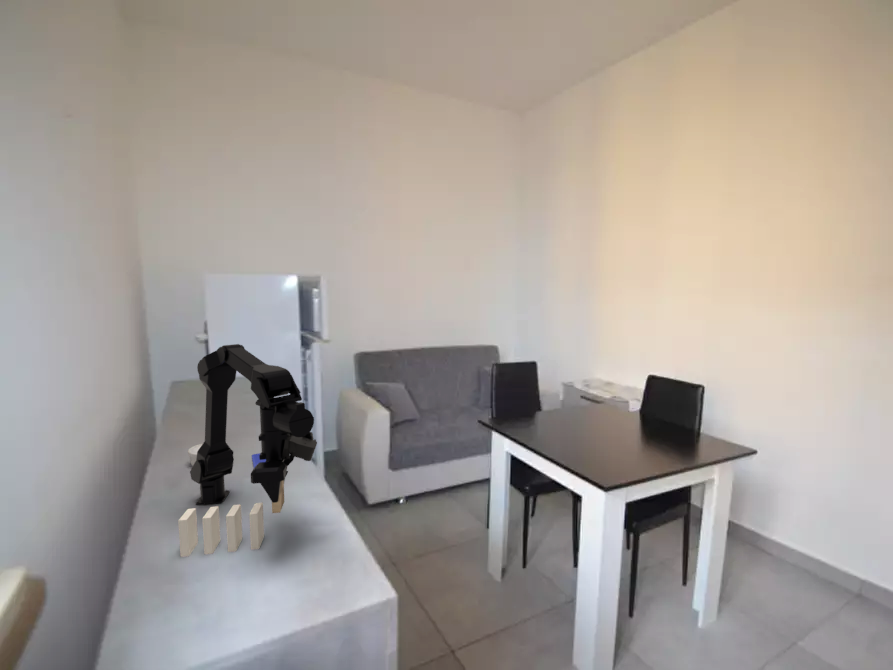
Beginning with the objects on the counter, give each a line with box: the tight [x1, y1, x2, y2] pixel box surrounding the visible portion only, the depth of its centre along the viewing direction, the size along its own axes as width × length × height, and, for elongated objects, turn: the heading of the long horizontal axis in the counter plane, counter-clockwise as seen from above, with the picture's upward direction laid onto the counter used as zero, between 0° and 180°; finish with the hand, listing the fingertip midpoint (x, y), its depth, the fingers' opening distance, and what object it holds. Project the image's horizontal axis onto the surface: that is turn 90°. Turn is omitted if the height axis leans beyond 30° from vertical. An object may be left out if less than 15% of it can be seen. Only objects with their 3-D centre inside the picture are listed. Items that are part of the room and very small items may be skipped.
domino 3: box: [225, 504, 243, 553], centre depth 94 cm, size 5×2×8 cm, turn 10°
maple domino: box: [271, 480, 285, 514], centre depth 95 cm, size 5×2×8 cm, turn 10°
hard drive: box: [251, 452, 266, 469], centre depth 142 cm, size 2×8×12 cm
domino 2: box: [202, 505, 222, 556], centre depth 94 cm, size 5×2×8 cm, turn 10°
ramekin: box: [187, 443, 203, 467], centre depth 140 cm, size 11×11×5 cm
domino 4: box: [248, 502, 265, 551], centre depth 95 cm, size 5×2×8 cm, turn 10°
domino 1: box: [177, 507, 199, 558], centre depth 93 cm, size 5×2×8 cm, turn 10°
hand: (277, 496), depth 96 cm, fingers closed on maple domino, 5 cm apart
